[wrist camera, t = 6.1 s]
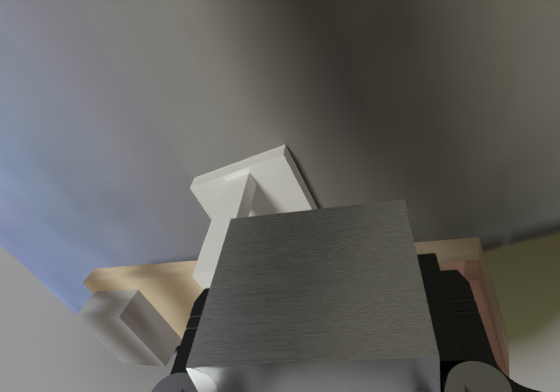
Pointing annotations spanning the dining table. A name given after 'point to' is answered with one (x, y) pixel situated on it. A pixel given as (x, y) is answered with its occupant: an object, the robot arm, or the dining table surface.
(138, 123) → the dining table surface
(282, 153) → the pivot stand
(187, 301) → the beam
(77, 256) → the dining table surface
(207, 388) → the block
